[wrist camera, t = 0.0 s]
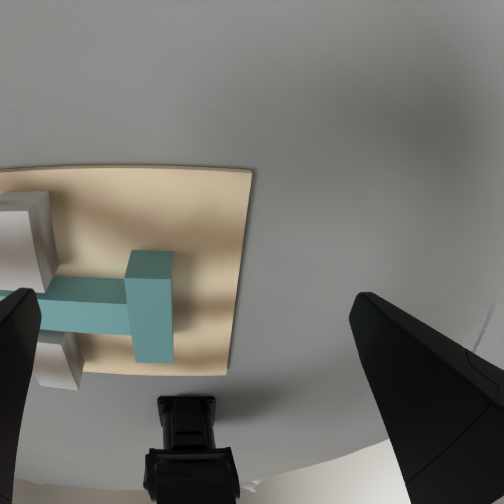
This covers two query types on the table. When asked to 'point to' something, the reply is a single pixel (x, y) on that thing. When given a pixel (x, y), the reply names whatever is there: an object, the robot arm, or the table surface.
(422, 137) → the table surface
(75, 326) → the teal t-shaped block
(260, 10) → the table surface
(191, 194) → the wooden base board
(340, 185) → the table surface
